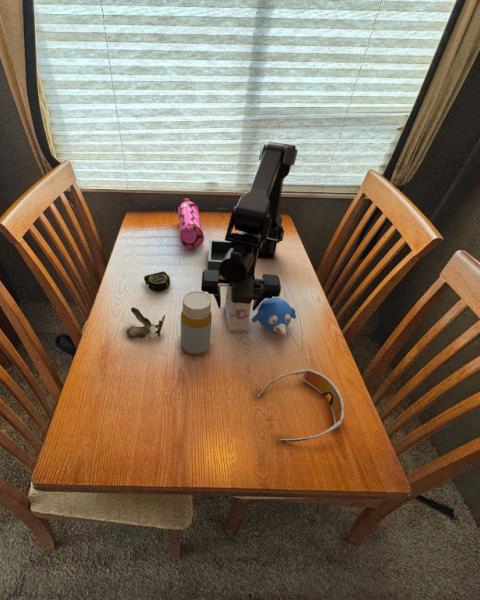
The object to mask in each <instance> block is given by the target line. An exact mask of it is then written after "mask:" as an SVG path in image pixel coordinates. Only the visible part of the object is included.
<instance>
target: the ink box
mask: <svg viewBox="0 0 480 600" xmlns="http://www.w3.org/2000/svg"><path fill="white" fill-rule="evenodd" d="M225 289H226V290H225V300H224V314H225V319H226V322H227V323H226V324H227V328H228V331H229V332H245V331H248V327H249V320H250V316H251V315H250V314H251V309H252V304H253V303H252V302H253V301H252V302H251V303H250V304H245V303H233V302H232V301H231V287H229V286H226V288H225Z"/></svg>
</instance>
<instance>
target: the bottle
mask: <svg viewBox="0 0 480 600" xmlns="http://www.w3.org/2000/svg"><path fill="white" fill-rule="evenodd" d="M211 309H212V298H211V296H210V294H208V292H203V291H202V290H192V291H189V292H187V293H186V294H184V296H183V298H182V311H181V312H180V346H181V349H182V350H183V352H185V353H186V354H189V355H192V356H199V355H203V354H204V353H206V352H207V351H208V350H209V348H210V344H211V333H212V321H213V320H212V318H213V314H212V311H211Z"/></svg>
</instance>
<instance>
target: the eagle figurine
mask: <svg viewBox="0 0 480 600" xmlns="http://www.w3.org/2000/svg"><path fill="white" fill-rule="evenodd" d="M130 311H131V312H132V314H133V315H134V316H135V317H136V320H137V321H139V322H140V323H141V324H142V325H143V326H134V325H132V326H130V327H129V328H127V329H126V332H125V333H126V336H127V338H129V339H145V338H146V336H147V335H148V334H149V336H150V338H153V337H154V336H155V335H157V337H159V338H161V331H162V328H163V325H164V321H165V319H166V314H163V316H162V318H161V319H159V321H158V324H152V322H151V320H150V319H148V318H147V317H145V316H144V315H143V313H142V312H141V311H140V309H138V308H136V307H133V306H132V307H131V308H130Z"/></svg>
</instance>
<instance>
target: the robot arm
mask: <svg viewBox="0 0 480 600" xmlns="http://www.w3.org/2000/svg"><path fill="white" fill-rule="evenodd" d="M298 151H299V150H298V149H297V147H296V145H295V144H294V143H287V142H279V141H271V140H269V141H268V143H262V144H261V146H260V151H259V156H258V161H260V162H259V164H258V167H257V170H256V173H255V175H254V178H253V180H252V183H251V186H250V189H249V190H248V192H246V193H244V194H243V195H241V196H240V198H239V200H238V202H237V204H236V206H234V207H232V211H231V214H230V218H229V222H228V226H227V230H226V234H225V237H224V241H229V242H232V243H231V248H230V249H229V251H228V253H227V254H226V256H225V257H224V259H223V261H222V262H221V264H220V266H219V271H216V270H208V269H204V270H203V271H202V275H201V284H200V285H201V288H200V291H202V292H205V293H207V294H208V295H212V296H213V297H214V298H215V301H216V305H217V307H218V309H221V306H222V296H221V295H222V294H221V287H227V286H229V287H231V301H232V302H233V303H245V304H250V303H251V302H253V303H251V304H252V306H251V309H252V312H254V311H256V309H258V308H259V306H260V304H261V303H262V302H263V301H265V300H266V299H269V298H279V297H280V295H281V292H282V285H281V279H280V277H279V275H278V274H274V273H273V274H272V273H262V275H261V278H256V275H255V271H256V267H257V261H258V258H259V259H260V258H261V259H276V251H277V250H276V249H277V245H278V244H280V242H283V239H284V234H285V229H284V225H283V217H282V215H281V214H280V213H279V210H280V204H281V199H282V191H283V185H284V181H285V180H284V179H286V177H287V176H289V174H290V172H291V169H292V166H295V164H296V160H297V156H298ZM233 230H235V231H238V232H234V231H233ZM219 272H220V274H221V275H220V276H219V275H218V273H219Z"/></svg>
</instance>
